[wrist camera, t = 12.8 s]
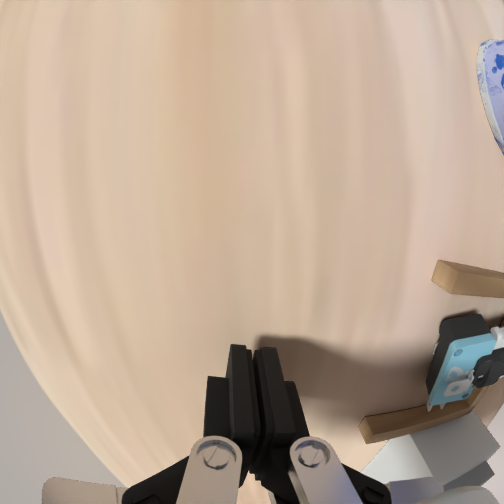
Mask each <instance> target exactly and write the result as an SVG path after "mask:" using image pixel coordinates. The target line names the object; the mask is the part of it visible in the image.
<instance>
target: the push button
mask: <svg viewBox="0 0 504 504" xmlns="http://www.w3.org/2000/svg"><path fill="white" fill-rule="evenodd" d="M439 333H440V335H441V337H440V341H439V342H438V343H437V344H435V347H434V350H433V354H432V355H433V356H434V359H433V362H432V365H431V368H430V371H429V373H428V376H427V379H426V386H427V390H428V395H429V398H428V400H427V409H428V412H430V410H431V408H432V406H433V405H438V404H440V408H441V409H443V407H444V405H445V403H448V402H452V401H457V400H463V399H466V398H467V397H469V396H470V394H471V393H472V390H473V389H474V387H476V388H478V389H479V388H482V387H485V386H489V385H492V384H494V383H495V382H497V381H498V379H499V378H502V377H504V327H502V328H499V327H498V326H497V327H493V328H491V330H490V329H489V327H488V326H487V324H486V322H485V320H484V319H483V317H482V315H481V314H477V315H471V316H465V317H459V318H452V319H446V320H444V321H443V322H442V324H441V326H440V330H439ZM429 402H430V405H429Z"/></svg>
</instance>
